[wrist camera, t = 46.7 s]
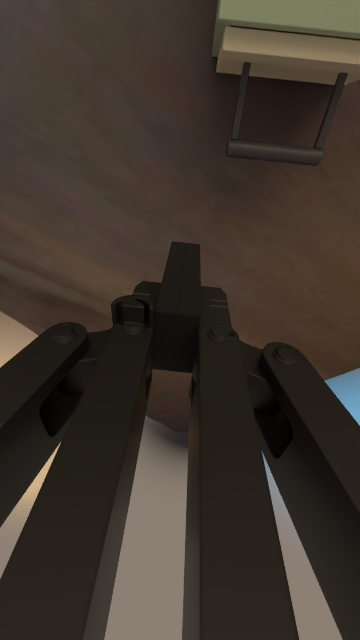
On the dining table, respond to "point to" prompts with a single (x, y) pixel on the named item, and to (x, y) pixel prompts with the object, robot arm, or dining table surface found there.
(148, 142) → the dining table surface
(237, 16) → the cabinet
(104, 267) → the dining table surface
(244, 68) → the drawer
